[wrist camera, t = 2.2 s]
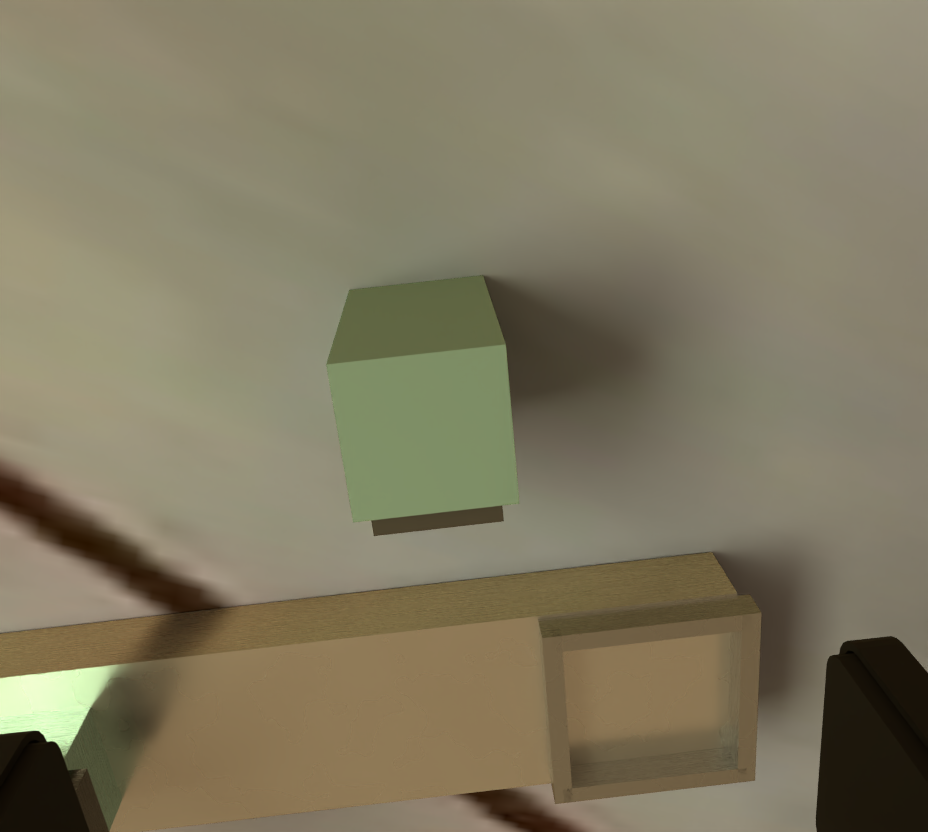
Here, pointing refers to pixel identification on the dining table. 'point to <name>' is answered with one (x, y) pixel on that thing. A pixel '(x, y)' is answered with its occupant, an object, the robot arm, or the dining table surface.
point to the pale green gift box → (423, 406)
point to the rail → (400, 695)
